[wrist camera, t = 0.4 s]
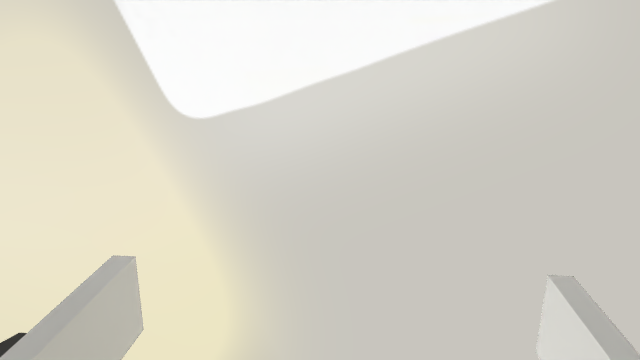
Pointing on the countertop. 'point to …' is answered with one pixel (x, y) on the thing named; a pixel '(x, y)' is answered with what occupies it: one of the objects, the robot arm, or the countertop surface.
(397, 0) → the countertop surface
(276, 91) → the countertop surface
